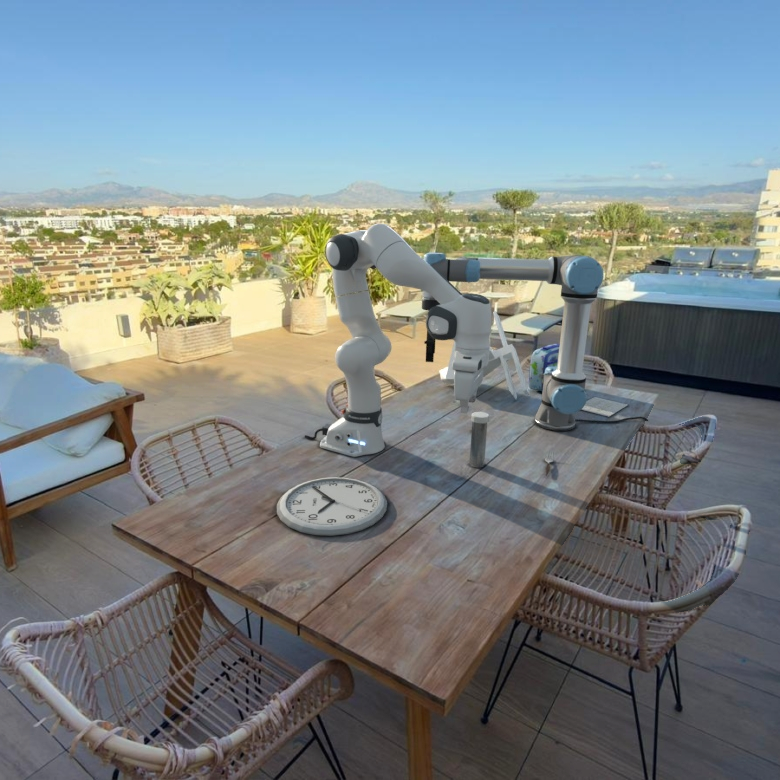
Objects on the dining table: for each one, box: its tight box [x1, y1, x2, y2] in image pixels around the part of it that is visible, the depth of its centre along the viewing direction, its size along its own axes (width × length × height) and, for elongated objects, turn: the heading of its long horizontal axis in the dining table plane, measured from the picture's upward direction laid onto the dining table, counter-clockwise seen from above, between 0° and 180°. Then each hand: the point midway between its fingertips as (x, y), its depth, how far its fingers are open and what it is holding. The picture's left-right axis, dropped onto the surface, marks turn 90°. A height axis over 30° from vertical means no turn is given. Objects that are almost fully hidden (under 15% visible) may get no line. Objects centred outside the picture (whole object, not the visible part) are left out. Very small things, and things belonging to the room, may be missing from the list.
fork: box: [544, 451, 555, 476], centre depth 168 cm, size 3×16×2 cm, turn 160°
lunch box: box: [528, 343, 560, 393], centre depth 248 cm, size 26×11×21 cm, turn 134°
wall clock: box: [276, 476, 388, 537], centre depth 142 cm, size 30×2×30 cm
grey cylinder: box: [469, 420, 488, 469], centre depth 166 cm, size 5×5×17 cm
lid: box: [470, 411, 490, 424], centre depth 164 cm, size 5×5×2 cm
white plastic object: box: [438, 310, 531, 400], centre depth 245 cm, size 37×45×31 cm
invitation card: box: [580, 396, 629, 418], centre depth 226 cm, size 21×1×15 cm
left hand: (468, 406), depth 141 cm, fingers open, 8 cm apart
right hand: (430, 357), depth 190 cm, fingers open, 13 cm apart
